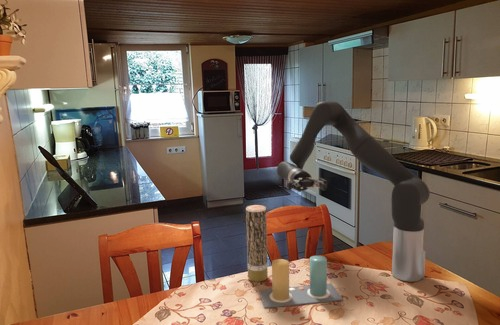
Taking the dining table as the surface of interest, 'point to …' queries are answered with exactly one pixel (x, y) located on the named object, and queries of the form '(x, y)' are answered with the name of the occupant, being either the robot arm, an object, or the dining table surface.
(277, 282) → the amber tube
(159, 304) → the dining table surface
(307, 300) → the card
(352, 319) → the dining table surface
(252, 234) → the wooden log
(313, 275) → the teal tube
